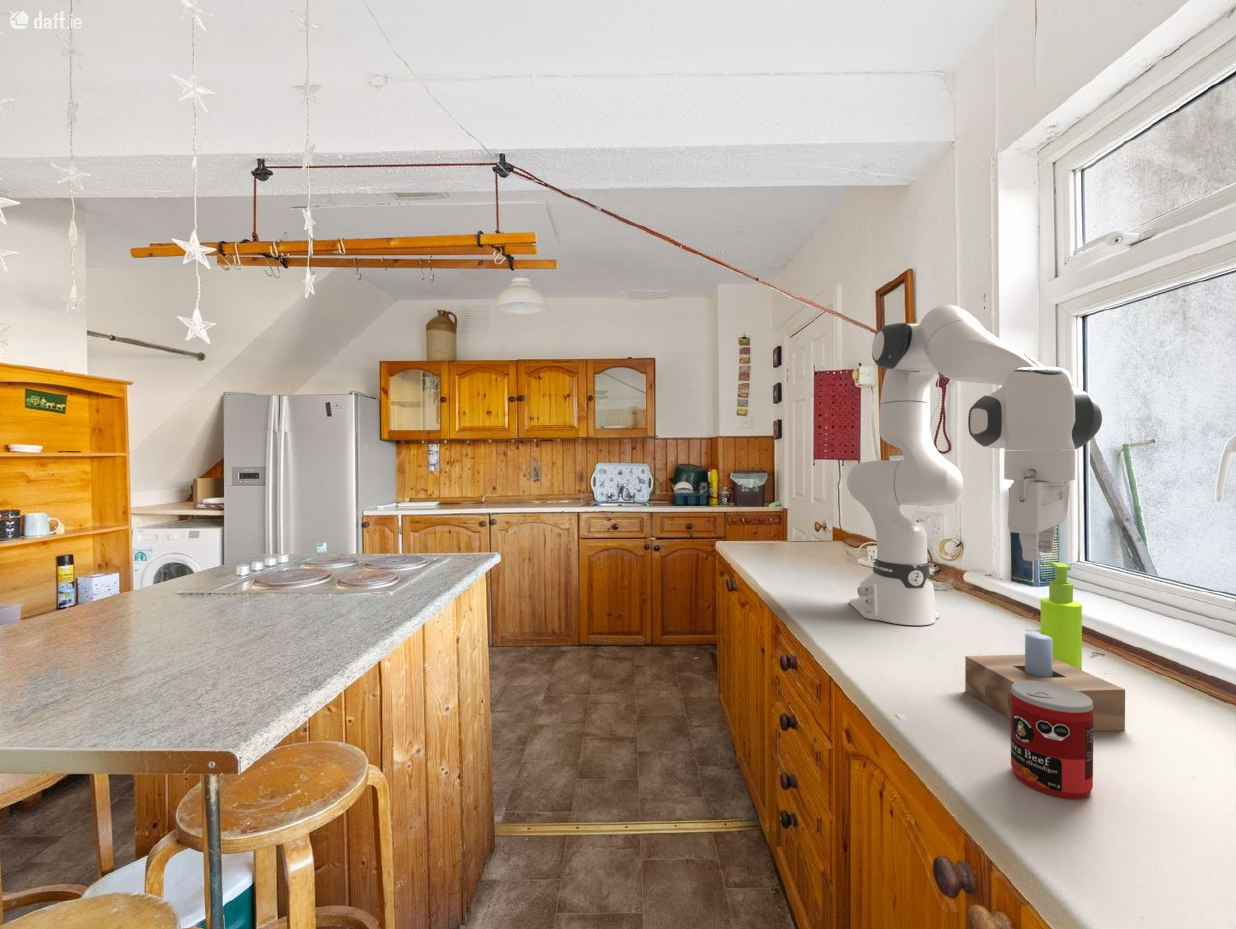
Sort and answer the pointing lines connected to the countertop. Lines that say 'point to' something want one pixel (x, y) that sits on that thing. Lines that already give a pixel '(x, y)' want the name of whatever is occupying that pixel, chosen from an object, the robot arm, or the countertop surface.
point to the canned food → (1052, 738)
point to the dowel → (1038, 655)
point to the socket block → (999, 672)
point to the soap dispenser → (1062, 618)
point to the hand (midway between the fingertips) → (1038, 556)
